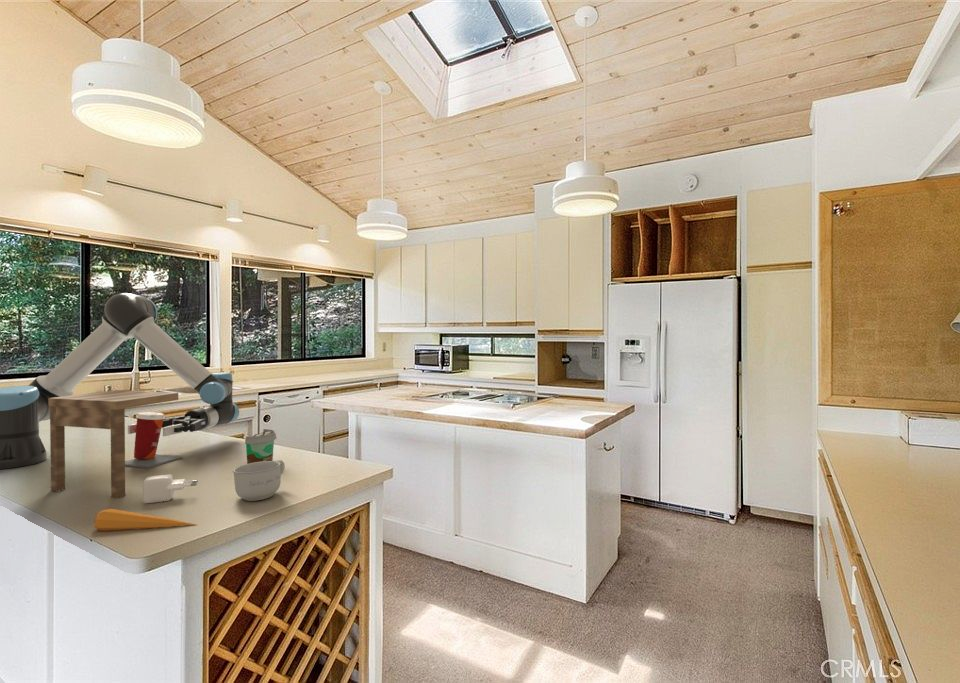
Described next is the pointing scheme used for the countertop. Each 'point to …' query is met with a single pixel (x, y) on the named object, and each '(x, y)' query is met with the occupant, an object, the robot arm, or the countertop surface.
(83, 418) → the canopy shelf
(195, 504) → the countertop surface
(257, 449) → the food container
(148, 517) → the carrot
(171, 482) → the power adapter
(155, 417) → the paper cup
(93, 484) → the countertop surface
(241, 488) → the teacup
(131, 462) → the slate mat
